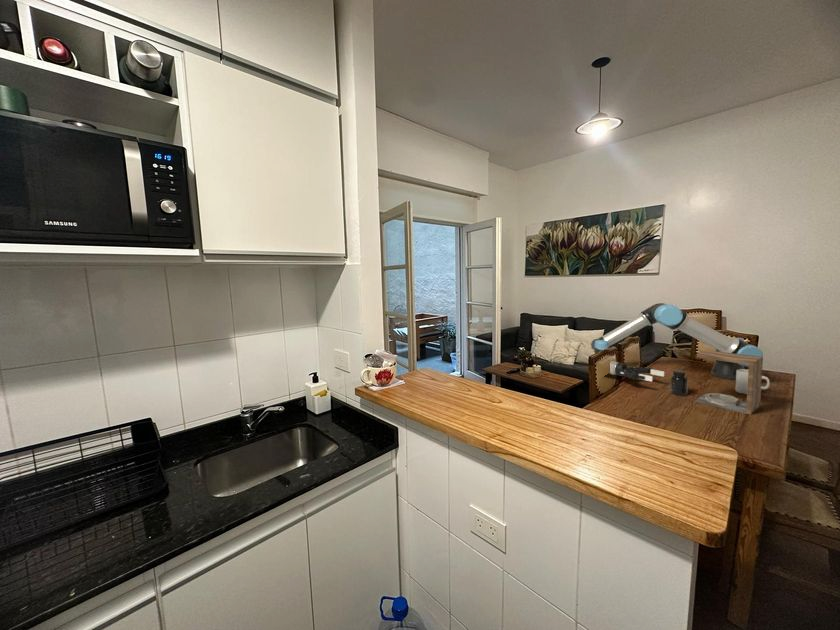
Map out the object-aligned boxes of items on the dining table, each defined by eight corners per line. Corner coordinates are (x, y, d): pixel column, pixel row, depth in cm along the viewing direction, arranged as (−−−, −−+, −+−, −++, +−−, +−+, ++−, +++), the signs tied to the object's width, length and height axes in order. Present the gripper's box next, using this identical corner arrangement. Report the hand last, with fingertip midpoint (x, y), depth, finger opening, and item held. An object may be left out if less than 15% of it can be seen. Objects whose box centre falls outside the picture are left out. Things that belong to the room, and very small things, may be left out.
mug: (735, 392, 167) (736, 371, 165) (735, 388, 173) (736, 368, 171) (769, 397, 158) (770, 375, 157) (768, 393, 164) (769, 371, 163)
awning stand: (705, 395, 165) (707, 350, 162) (760, 407, 148) (762, 356, 146) (695, 401, 158) (696, 354, 155) (750, 414, 141) (753, 361, 139)
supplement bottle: (681, 391, 172) (682, 369, 171) (690, 396, 165) (691, 373, 164) (667, 391, 173) (668, 369, 171) (676, 396, 166) (676, 373, 165)
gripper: (628, 370, 201) (668, 378, 183) (606, 378, 188) (647, 388, 170) (628, 359, 200) (669, 365, 182) (606, 366, 187) (647, 374, 169)
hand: (658, 376), depth 176 cm, fingers open, 13 cm apart
